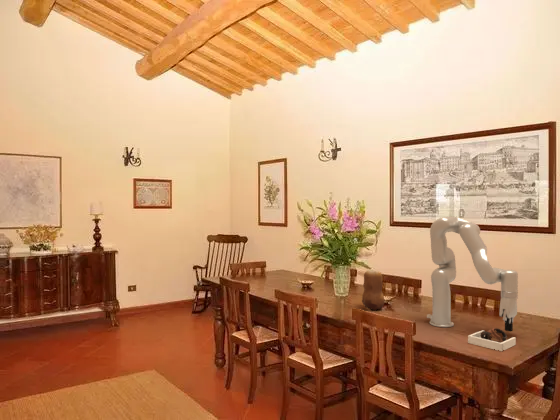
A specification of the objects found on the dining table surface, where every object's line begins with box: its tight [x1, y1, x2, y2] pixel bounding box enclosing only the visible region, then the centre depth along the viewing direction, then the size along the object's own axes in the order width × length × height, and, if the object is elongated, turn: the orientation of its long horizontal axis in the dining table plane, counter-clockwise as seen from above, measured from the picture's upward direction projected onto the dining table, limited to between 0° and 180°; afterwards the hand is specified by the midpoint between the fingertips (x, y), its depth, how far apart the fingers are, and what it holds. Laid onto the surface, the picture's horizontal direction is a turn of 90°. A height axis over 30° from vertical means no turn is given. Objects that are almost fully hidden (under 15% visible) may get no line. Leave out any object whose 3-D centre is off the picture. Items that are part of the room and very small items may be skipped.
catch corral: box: [467, 329, 517, 352], centre depth 214 cm, size 16×14×4 cm
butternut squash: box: [361, 269, 385, 311], centre depth 284 cm, size 14×13×25 cm
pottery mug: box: [480, 327, 508, 343], centre depth 215 cm, size 12×10×8 cm
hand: (508, 330), depth 226 cm, fingers closed
